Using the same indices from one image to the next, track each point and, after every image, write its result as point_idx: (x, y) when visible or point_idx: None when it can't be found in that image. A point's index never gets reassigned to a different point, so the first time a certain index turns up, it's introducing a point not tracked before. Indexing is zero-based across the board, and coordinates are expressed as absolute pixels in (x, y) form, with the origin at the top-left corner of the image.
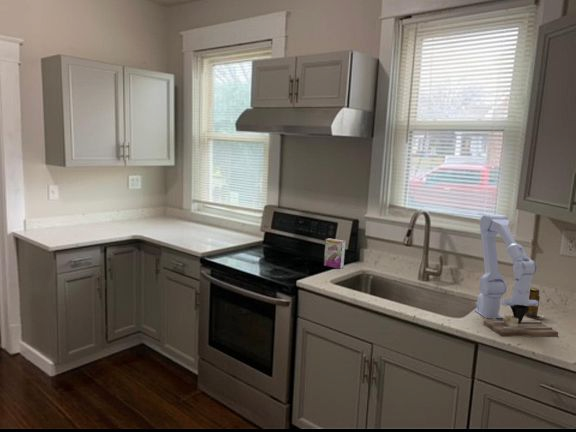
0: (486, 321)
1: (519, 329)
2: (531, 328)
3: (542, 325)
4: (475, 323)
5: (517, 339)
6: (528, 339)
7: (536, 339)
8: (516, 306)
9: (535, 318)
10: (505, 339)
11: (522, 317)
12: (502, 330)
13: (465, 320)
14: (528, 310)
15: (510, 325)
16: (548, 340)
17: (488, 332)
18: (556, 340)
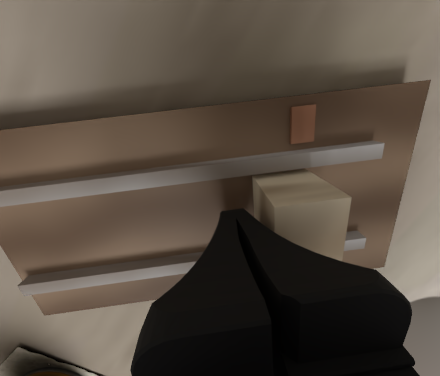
0: (380, 256)
1: (249, 155)
2: (150, 170)
3: (33, 251)
4: (403, 254)
5: (327, 26)
6: (238, 34)
7: (172, 41)
8: (380, 373)
9: (39, 354)
10: (420, 17)
11: (221, 235)
12: (393, 121)
13: (423, 280)
14: (160, 298)
15: (314, 177)
16: (77, 26)
17: (436, 139)
18: (4, 33)
